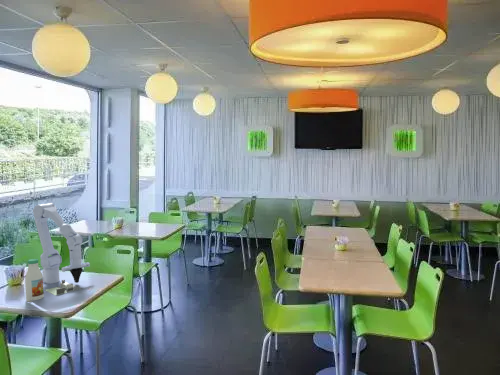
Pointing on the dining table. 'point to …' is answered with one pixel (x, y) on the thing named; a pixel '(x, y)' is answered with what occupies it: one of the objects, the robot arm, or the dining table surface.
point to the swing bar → (66, 285)
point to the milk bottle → (33, 281)
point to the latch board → (61, 290)
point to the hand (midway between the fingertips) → (76, 282)
